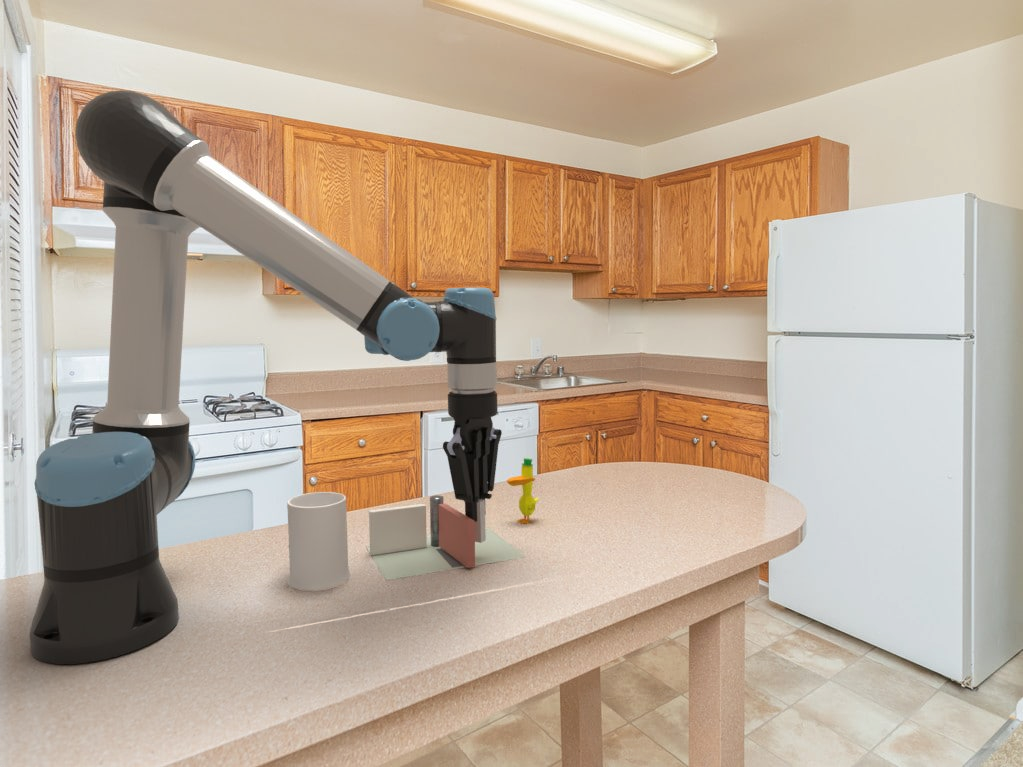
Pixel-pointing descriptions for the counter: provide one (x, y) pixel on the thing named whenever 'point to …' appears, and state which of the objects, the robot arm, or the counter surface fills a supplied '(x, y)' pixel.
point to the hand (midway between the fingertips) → (476, 540)
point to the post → (435, 519)
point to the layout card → (442, 558)
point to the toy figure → (525, 490)
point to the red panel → (457, 534)
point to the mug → (318, 541)
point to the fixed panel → (397, 529)
